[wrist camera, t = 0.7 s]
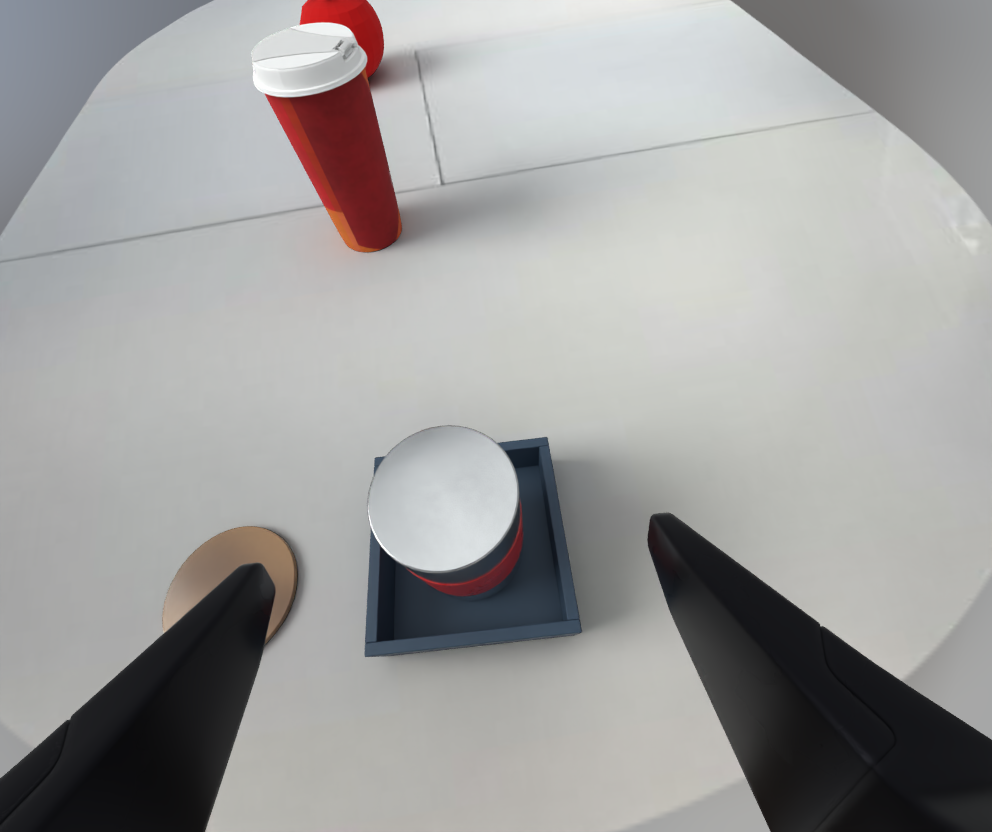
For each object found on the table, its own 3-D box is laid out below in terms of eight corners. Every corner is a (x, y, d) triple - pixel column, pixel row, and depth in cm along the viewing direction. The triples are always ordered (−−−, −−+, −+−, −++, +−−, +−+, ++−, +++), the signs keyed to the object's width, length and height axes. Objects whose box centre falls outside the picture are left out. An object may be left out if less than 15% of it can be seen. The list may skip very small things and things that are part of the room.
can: (530, 596, 24) (530, 564, 15) (422, 608, 24) (360, 583, 15) (517, 491, 27) (510, 415, 18) (421, 502, 27) (369, 432, 19)
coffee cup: (423, 209, 43) (377, 18, 30) (397, 264, 39) (331, 72, 26) (349, 203, 45) (274, 18, 32) (317, 256, 41) (217, 70, 28)
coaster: (287, 660, 24) (283, 660, 23) (149, 675, 24) (144, 676, 24) (305, 521, 28) (302, 519, 27) (187, 535, 28) (182, 533, 28)
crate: (575, 635, 23) (582, 632, 20) (385, 656, 24) (364, 657, 20) (545, 459, 29) (547, 436, 26) (390, 477, 29) (374, 457, 26)
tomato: (340, 60, 62) (309, -36, 54) (404, 64, 60) (383, -36, 52) (305, 95, 58) (265, -3, 49) (373, 100, 56) (344, -2, 47)
